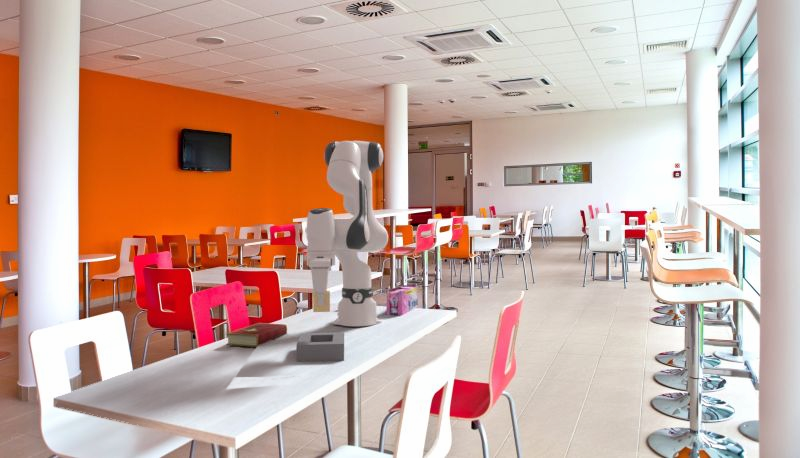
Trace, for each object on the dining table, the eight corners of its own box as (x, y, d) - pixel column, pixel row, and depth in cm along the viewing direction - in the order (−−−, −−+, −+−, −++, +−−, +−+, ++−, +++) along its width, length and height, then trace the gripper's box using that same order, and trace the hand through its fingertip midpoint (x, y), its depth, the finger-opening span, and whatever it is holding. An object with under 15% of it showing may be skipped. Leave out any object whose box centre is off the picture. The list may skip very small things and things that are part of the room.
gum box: (401, 322, 240) (401, 291, 240) (384, 321, 243) (384, 290, 243) (418, 313, 261) (418, 285, 261) (403, 312, 264) (402, 284, 264)
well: (301, 348, 191) (301, 333, 191) (344, 347, 192) (344, 332, 192) (296, 361, 173) (296, 344, 173) (344, 360, 174) (343, 343, 174)
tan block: (314, 310, 184) (313, 291, 184) (329, 309, 185) (329, 290, 185) (313, 312, 180) (313, 292, 180) (329, 311, 181) (329, 292, 181)
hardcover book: (287, 335, 216) (287, 323, 216) (257, 347, 196) (257, 334, 196) (258, 333, 220) (258, 322, 220) (226, 344, 200) (226, 332, 200)
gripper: (312, 258, 192) (313, 300, 192) (308, 262, 172) (309, 309, 172) (331, 257, 193) (332, 299, 193) (330, 261, 172) (330, 308, 173)
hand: (321, 304), depth 182 cm, fingers closed on tan block, 4 cm apart
